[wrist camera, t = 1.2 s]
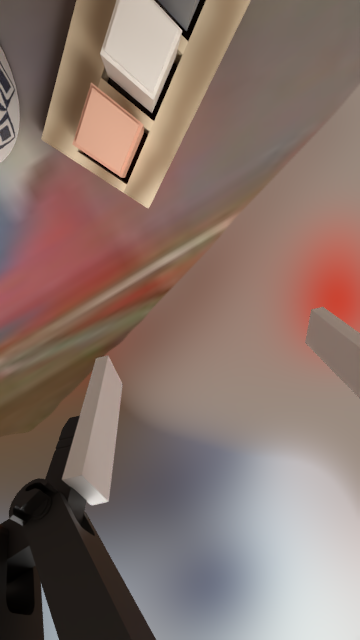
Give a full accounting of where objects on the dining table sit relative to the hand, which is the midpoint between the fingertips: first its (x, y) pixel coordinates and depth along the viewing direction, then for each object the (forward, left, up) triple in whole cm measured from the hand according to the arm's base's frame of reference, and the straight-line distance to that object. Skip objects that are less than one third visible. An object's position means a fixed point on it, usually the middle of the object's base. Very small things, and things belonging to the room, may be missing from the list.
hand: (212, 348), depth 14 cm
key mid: (-13, +14, -22) cm, 29 cm away
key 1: (-13, +7, -22) cm, 26 cm away
